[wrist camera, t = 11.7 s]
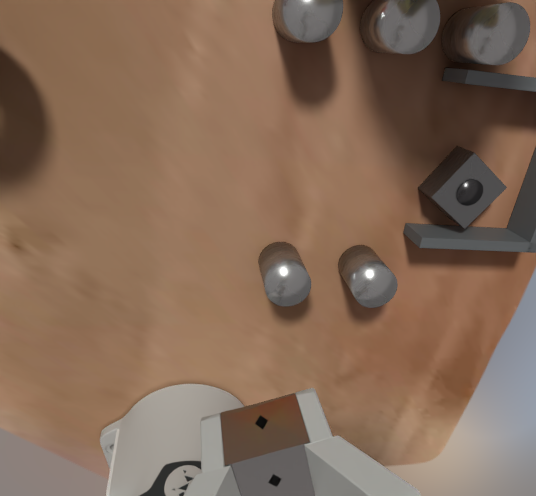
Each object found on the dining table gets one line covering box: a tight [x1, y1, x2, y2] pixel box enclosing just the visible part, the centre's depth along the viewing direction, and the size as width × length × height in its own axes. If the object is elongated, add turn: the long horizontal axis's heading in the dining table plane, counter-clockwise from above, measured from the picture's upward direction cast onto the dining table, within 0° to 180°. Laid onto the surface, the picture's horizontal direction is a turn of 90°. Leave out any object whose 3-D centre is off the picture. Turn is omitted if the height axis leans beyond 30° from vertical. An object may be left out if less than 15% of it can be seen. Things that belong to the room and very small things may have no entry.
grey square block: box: [418, 146, 507, 229], centre depth 39 cm, size 5×5×3 cm
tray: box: [403, 68, 536, 253], centre depth 39 cm, size 15×12×4 cm
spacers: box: [258, 0, 530, 308], centre depth 36 cm, size 25×18×5 cm
